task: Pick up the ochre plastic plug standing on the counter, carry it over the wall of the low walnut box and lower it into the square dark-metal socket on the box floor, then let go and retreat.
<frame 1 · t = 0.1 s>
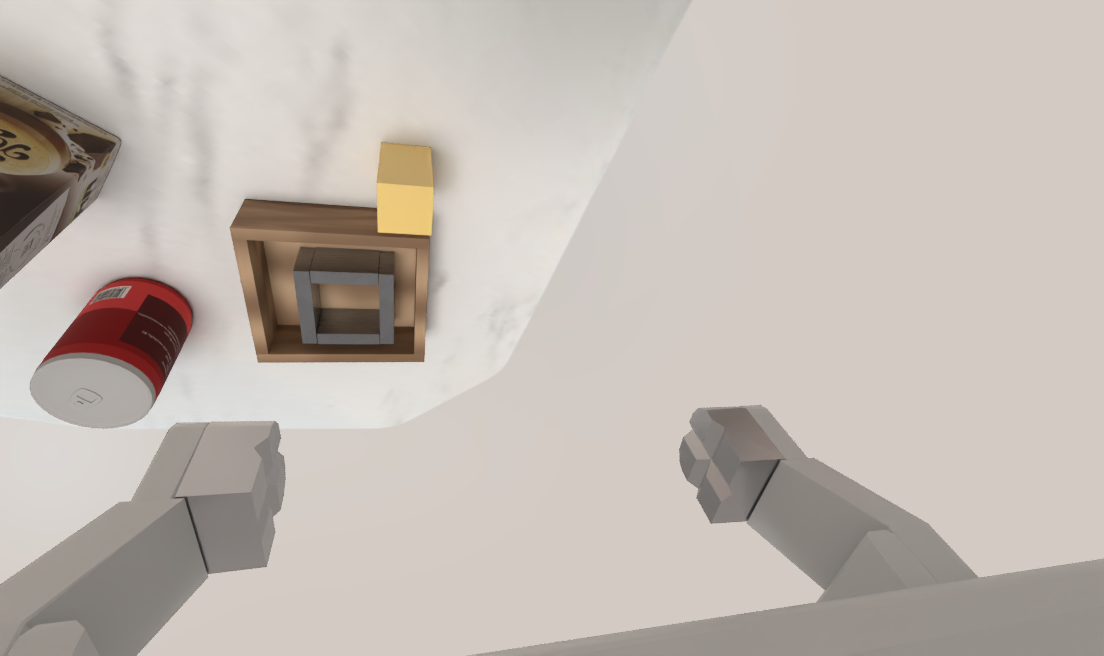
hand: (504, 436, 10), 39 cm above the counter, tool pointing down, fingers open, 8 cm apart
coffee box: (38, 133, 39), on the counter
plug: (406, 167, 46), on the counter
socket: (350, 285, 51), resting on walled box
walled box: (345, 272, 51), on the counter
canned food: (147, 308, 49), on the counter
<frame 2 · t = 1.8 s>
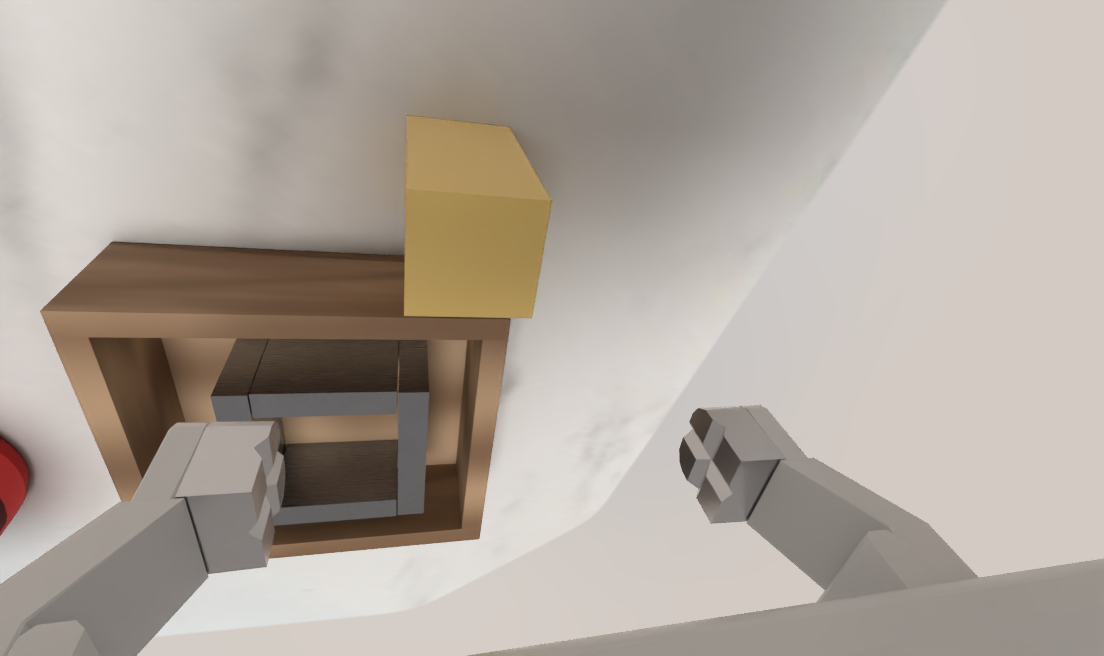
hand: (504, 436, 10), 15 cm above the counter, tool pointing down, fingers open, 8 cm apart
plug: (456, 171, 22), on the counter
socket: (341, 401, 27), resting on walled box
walled box: (330, 378, 26), on the counter
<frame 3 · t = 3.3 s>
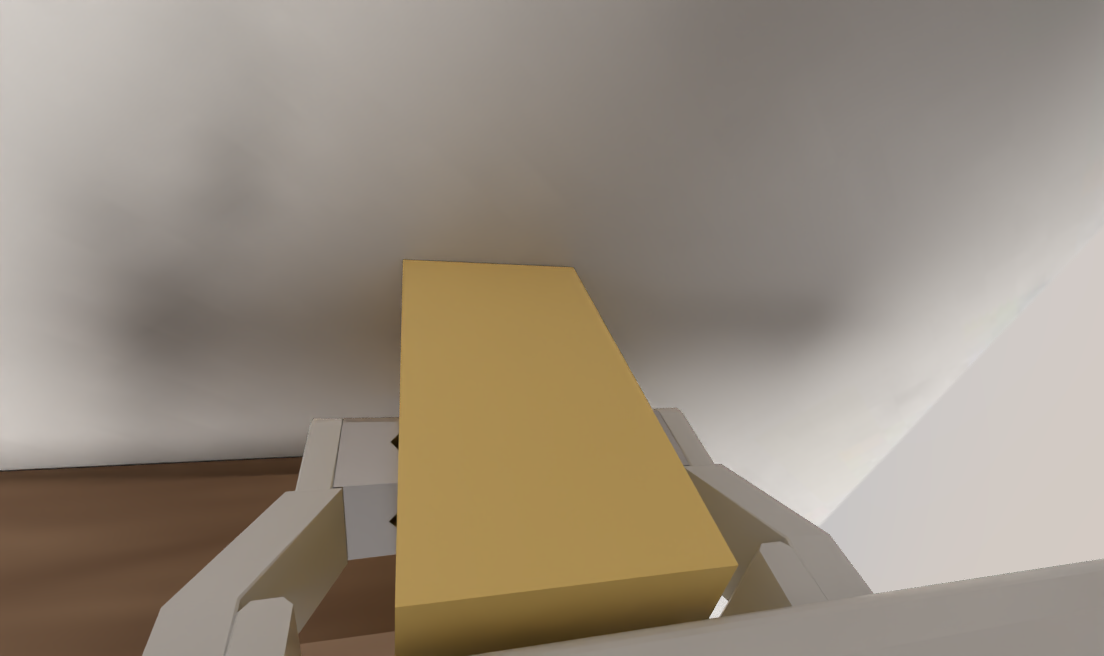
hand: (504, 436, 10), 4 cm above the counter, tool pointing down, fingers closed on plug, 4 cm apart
plug: (484, 334, 13), on the counter, touching gripper
walled box: (290, 607, 18), on the counter
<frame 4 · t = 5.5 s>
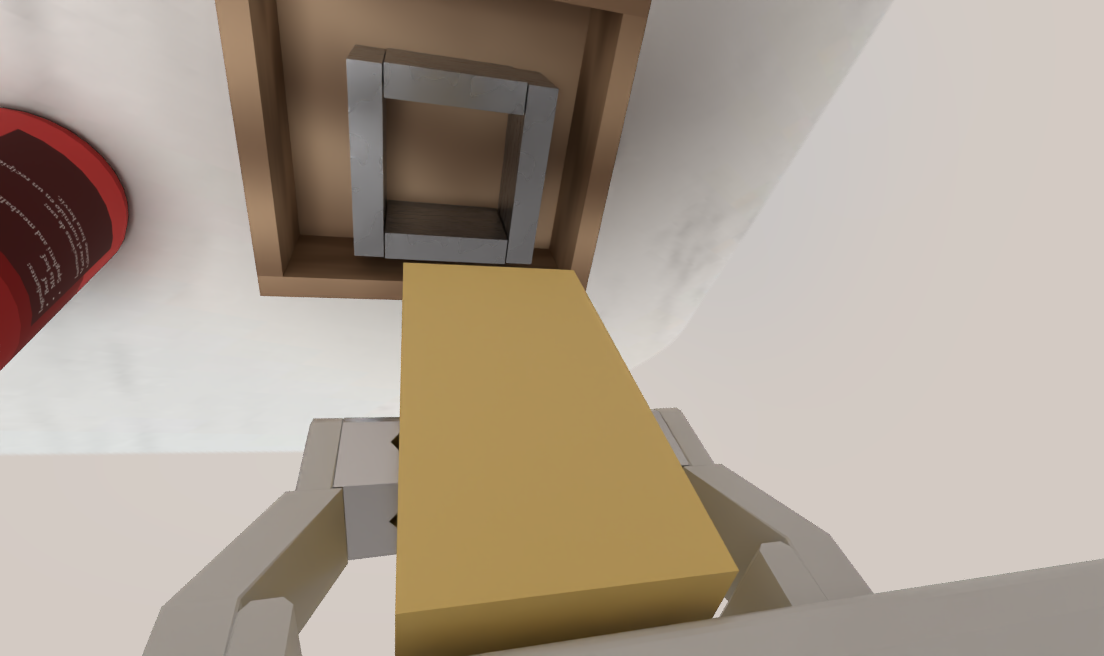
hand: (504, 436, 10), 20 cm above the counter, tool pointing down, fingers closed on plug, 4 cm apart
plug: (484, 337, 13), point 16 cm above the counter, touching gripper
socket: (446, 149, 26), resting on walled box
walled box: (436, 123, 26), on the counter
canned food: (34, 190, 24), on the counter
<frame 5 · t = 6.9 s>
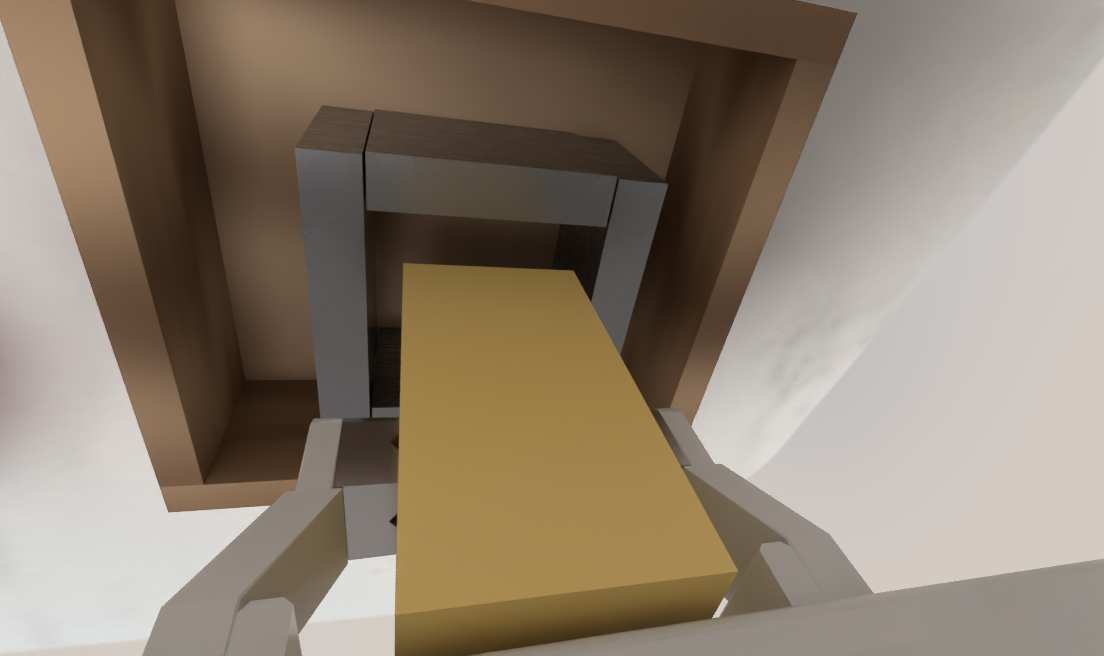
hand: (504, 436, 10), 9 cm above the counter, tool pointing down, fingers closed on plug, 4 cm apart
plug: (484, 337, 13), point 5 cm above the counter, touching gripper
socket: (468, 254, 17), resting on walled box
walled box: (453, 216, 17), on the counter
when the fingers open (6 cm above the counter, at t = 7.8 s): plug drops 1 cm, resting on walled box.
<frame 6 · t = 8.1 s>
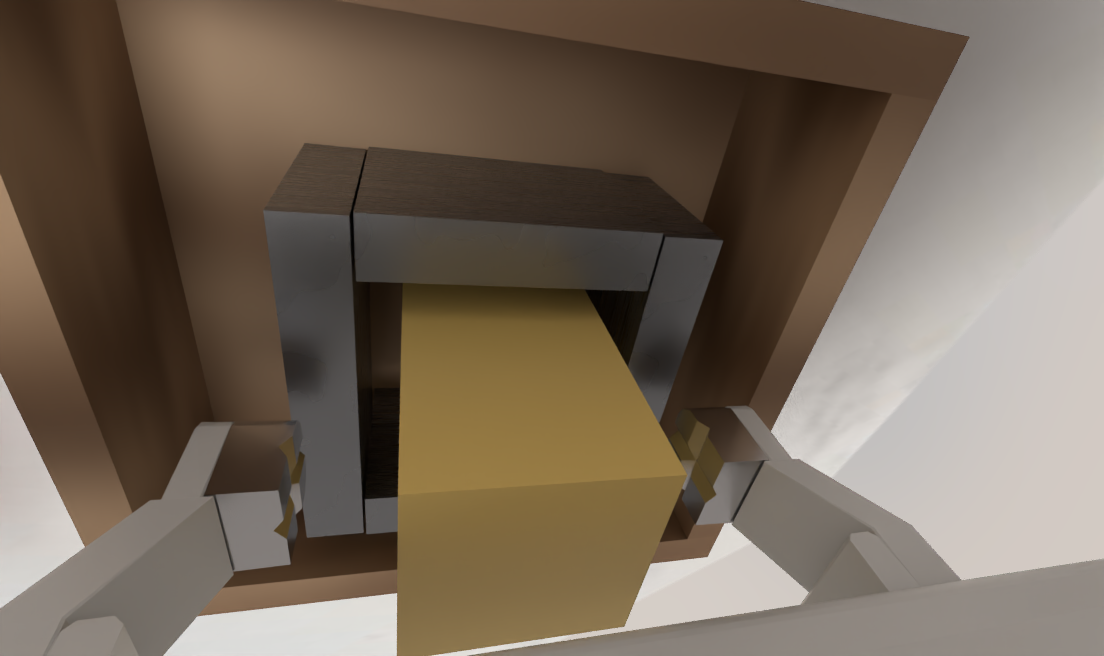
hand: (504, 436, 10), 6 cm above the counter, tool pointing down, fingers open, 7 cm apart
plug: (478, 306, 15), point 1 cm above the counter, touching walled box
socket: (477, 306, 15), resting on walled box
walled box: (460, 263, 14), on the counter
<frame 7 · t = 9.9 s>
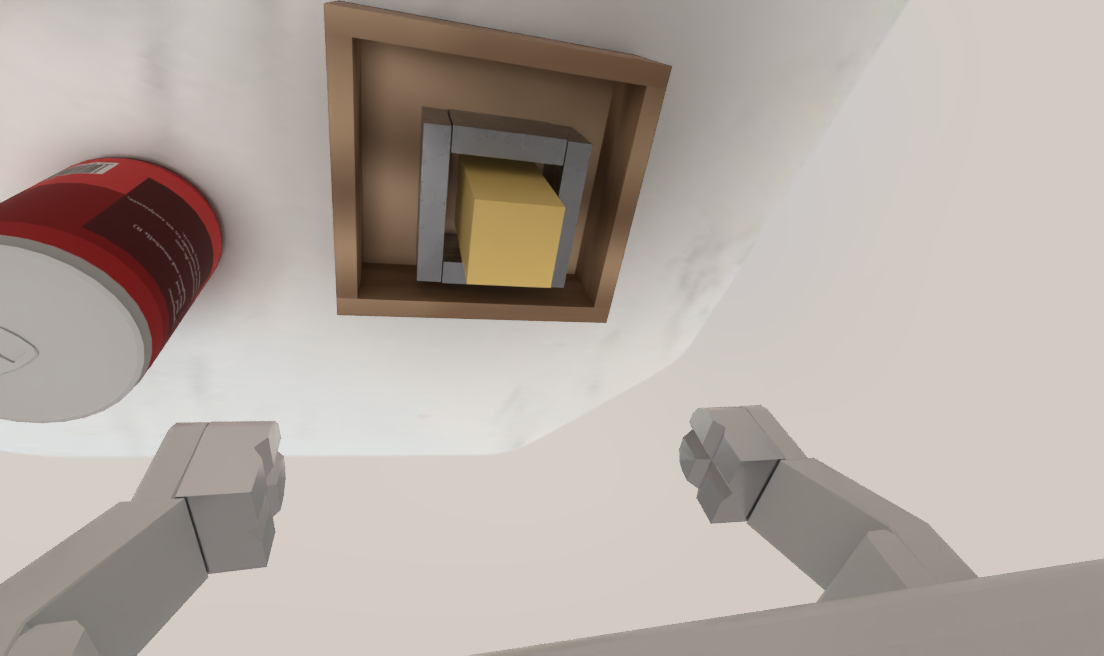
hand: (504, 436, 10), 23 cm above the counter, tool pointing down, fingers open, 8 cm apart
plug: (492, 190, 30), point 1 cm above the counter, touching walled box
socket: (491, 190, 30), resting on walled box
walled box: (483, 168, 30), on the counter
canned food: (144, 226, 28), on the counter
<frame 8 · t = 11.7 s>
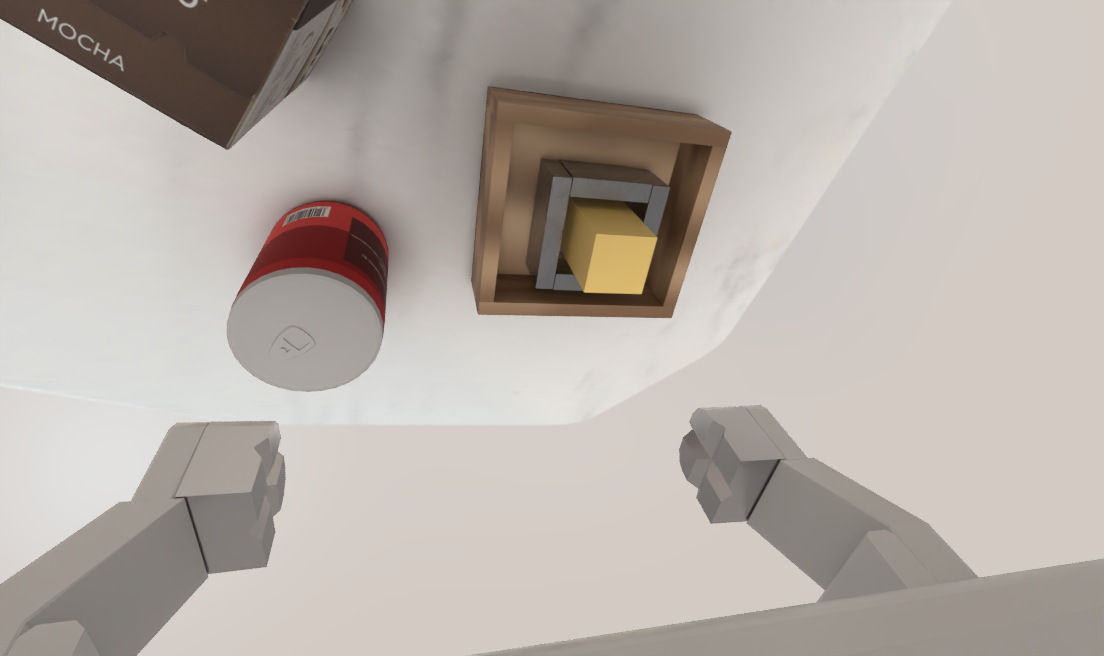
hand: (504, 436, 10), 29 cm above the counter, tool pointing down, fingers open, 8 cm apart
plug: (585, 217, 40), point 1 cm above the counter, touching walled box
socket: (585, 217, 40), resting on walled box
walled box: (579, 201, 39), on the counter
canned food: (331, 249, 38), on the counter
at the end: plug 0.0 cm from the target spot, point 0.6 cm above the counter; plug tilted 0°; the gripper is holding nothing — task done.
